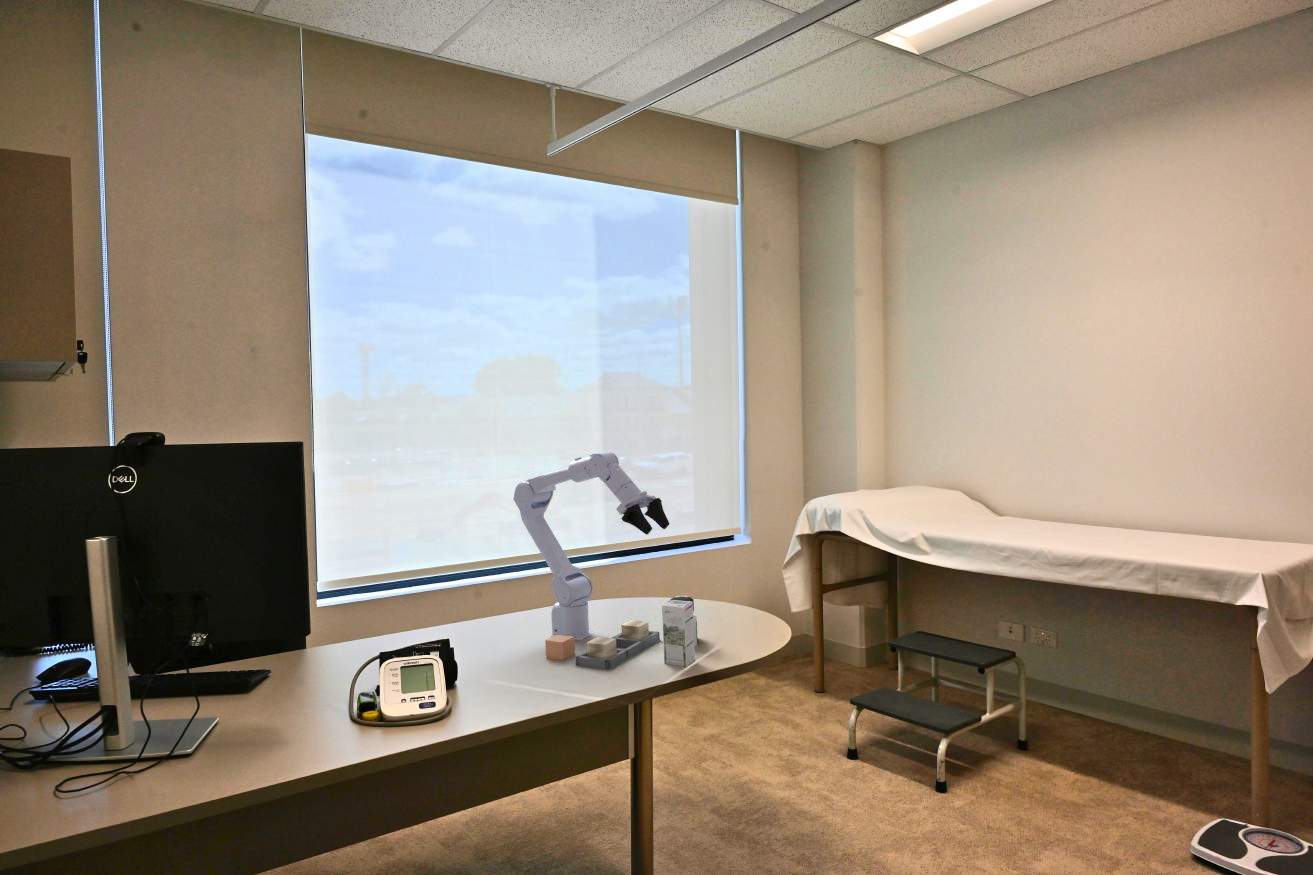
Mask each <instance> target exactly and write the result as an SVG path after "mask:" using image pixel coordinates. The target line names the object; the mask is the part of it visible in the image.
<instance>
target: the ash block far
mask: <svg viewBox="0 0 1313 875" xmlns="http://www.w3.org/2000/svg"><path fill="white" fill-rule="evenodd" d="M649 631H650V630H649V621H645V620H637V619H635V620H634V619H630V620H628V621H626V622H625V623H623V624H621V632H622V638H627V639H635V640H642V639H644V638H645V637H647V636H649Z"/></svg>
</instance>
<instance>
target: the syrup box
mask: <svg viewBox="0 0 1313 875" xmlns="http://www.w3.org/2000/svg"><path fill="white" fill-rule="evenodd" d="M661 612H662V613H661V614H662V636H663V638H662V639H663V640H662V642H663V657H664V659H663V660H664V665H666V664H667V665H673V666H674V665H675V666H683V667H684V669H687V668H688V667H690V666H691V665H692V664H694V663H695V659H696V655H695V654H696V653H695V652H696V651H695V646H694V627H693V602H691V601H678V600H671V599H670V600H668V601H666V602H664V604H662V606H661Z"/></svg>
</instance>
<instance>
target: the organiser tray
mask: <svg viewBox="0 0 1313 875" xmlns="http://www.w3.org/2000/svg"><path fill="white" fill-rule="evenodd" d="M611 638H613V639H616V652H617V654H615V655H614V656H612V657H610V658H608V659H601V658H594V657H587V650H585V651H583V652H581V653H579V654H578V655H575V666H579V667H586V668H587V667H588V668H594V669H600V670H606V671H607V670H608V671H610V670H611V669H612V668H615V667H616V666H617V665H620V664H621V663H623V662H624V661H626V660H628V659H629V658H631V657H633V656H635V655H636V654H639V653H640V652H641V651H643V650H645V649H647V648H648V647H650V646H652V645H654V644H655V643H656V642H658V641H660V631H652V630H649V636H647V637H645V638H644V639H642V640H635V639H627V638H622V631H621V632H620V633H618V634H616V635H614V636H612V637H611Z"/></svg>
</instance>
